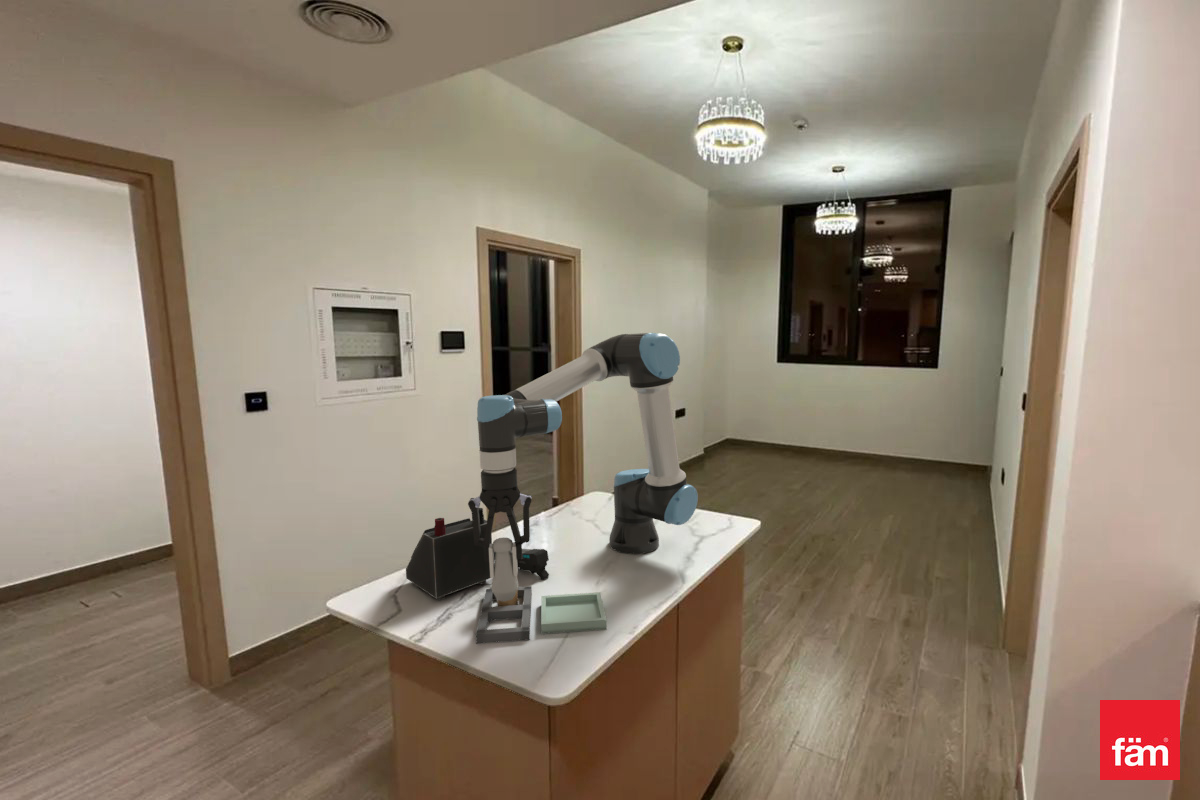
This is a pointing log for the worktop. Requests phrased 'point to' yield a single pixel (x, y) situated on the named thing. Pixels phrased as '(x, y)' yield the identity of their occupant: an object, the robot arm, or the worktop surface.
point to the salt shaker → (503, 571)
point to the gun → (533, 561)
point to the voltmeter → (449, 558)
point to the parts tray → (572, 613)
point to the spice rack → (505, 617)
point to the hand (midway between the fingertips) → (504, 573)
